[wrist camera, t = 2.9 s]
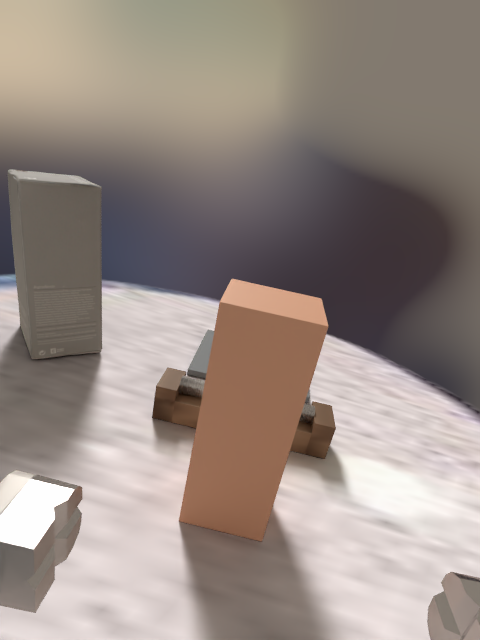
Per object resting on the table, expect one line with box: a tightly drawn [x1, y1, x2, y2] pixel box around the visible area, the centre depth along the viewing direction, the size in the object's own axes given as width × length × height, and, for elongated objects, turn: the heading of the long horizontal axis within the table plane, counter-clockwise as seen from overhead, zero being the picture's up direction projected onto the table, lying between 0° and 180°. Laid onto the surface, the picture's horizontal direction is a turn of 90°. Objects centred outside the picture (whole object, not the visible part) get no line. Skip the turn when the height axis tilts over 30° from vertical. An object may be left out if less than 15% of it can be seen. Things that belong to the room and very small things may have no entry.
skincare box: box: [8, 169, 102, 359], centre depth 36 cm, size 8×7×16 cm
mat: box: [187, 330, 309, 403], centre depth 42 cm, size 12×10×1 cm
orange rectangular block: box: [179, 279, 328, 542], centre depth 22 cm, size 5×4×14 cm
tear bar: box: [152, 368, 336, 459], centre depth 31 cm, size 14×3×3 cm, turn 83°
